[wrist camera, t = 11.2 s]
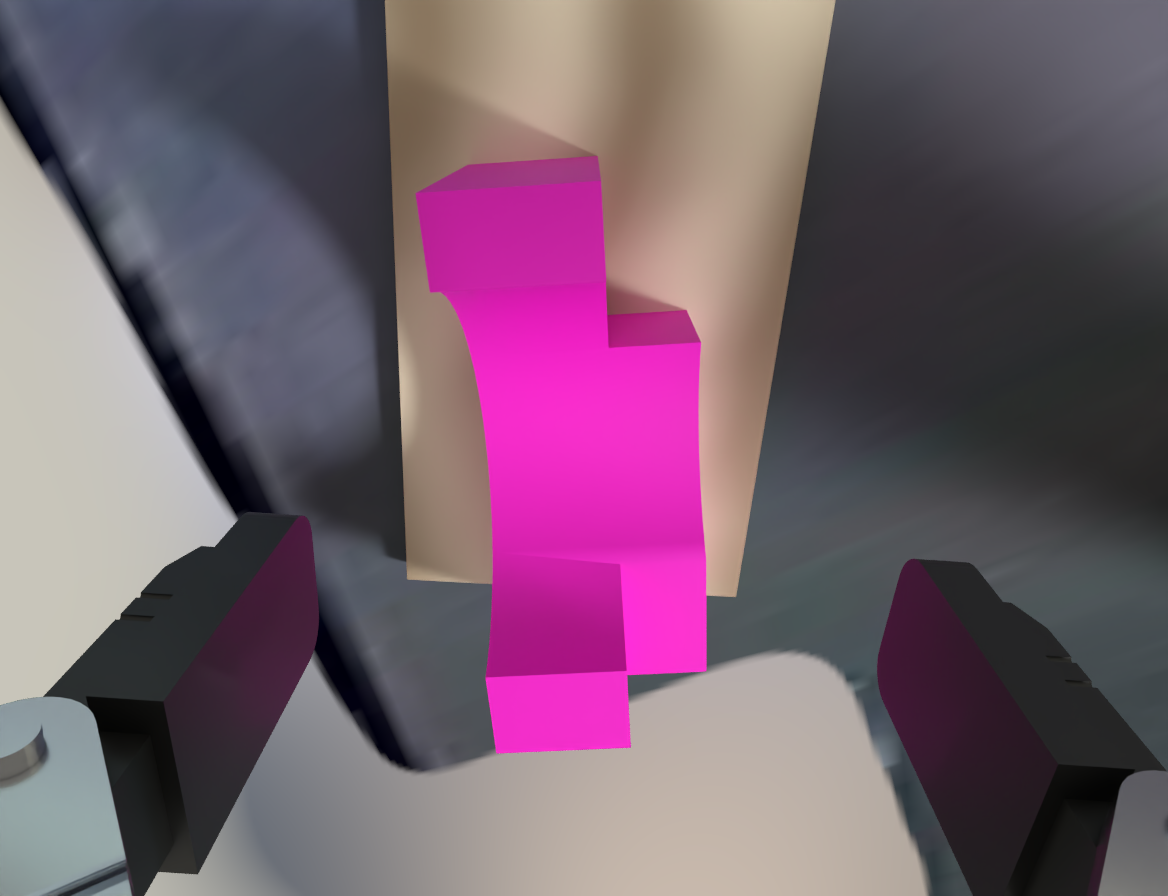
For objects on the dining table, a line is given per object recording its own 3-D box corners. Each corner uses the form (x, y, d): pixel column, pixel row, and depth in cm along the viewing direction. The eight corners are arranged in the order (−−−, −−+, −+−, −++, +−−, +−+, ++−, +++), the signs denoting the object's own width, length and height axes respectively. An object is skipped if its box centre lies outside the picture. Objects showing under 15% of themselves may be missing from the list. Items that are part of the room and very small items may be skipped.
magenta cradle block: (689, 588, 29) (721, 743, 22) (518, 597, 29) (496, 753, 22) (684, 149, 22) (726, 172, 16) (468, 164, 23) (415, 193, 16)
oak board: (831, -34, 21) (842, -40, 20) (731, 581, 30) (735, 597, 29) (390, -65, 21) (382, -72, 20) (412, 564, 29) (407, 579, 28)
